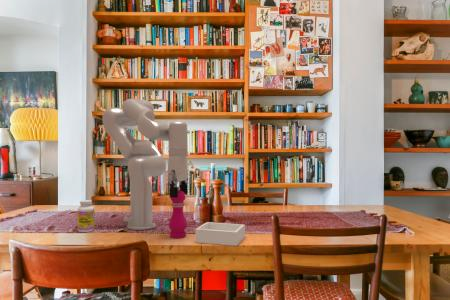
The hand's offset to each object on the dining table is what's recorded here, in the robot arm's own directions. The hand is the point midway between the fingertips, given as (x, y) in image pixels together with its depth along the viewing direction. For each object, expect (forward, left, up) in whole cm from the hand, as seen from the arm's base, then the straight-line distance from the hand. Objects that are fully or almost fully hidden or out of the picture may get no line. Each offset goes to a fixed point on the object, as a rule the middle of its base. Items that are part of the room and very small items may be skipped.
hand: (178, 195), depth 144 cm
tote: (+17, 0, -16) cm, 24 cm away
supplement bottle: (-42, -3, -17) cm, 45 cm away
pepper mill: (-1, 0, -17) cm, 17 cm away
